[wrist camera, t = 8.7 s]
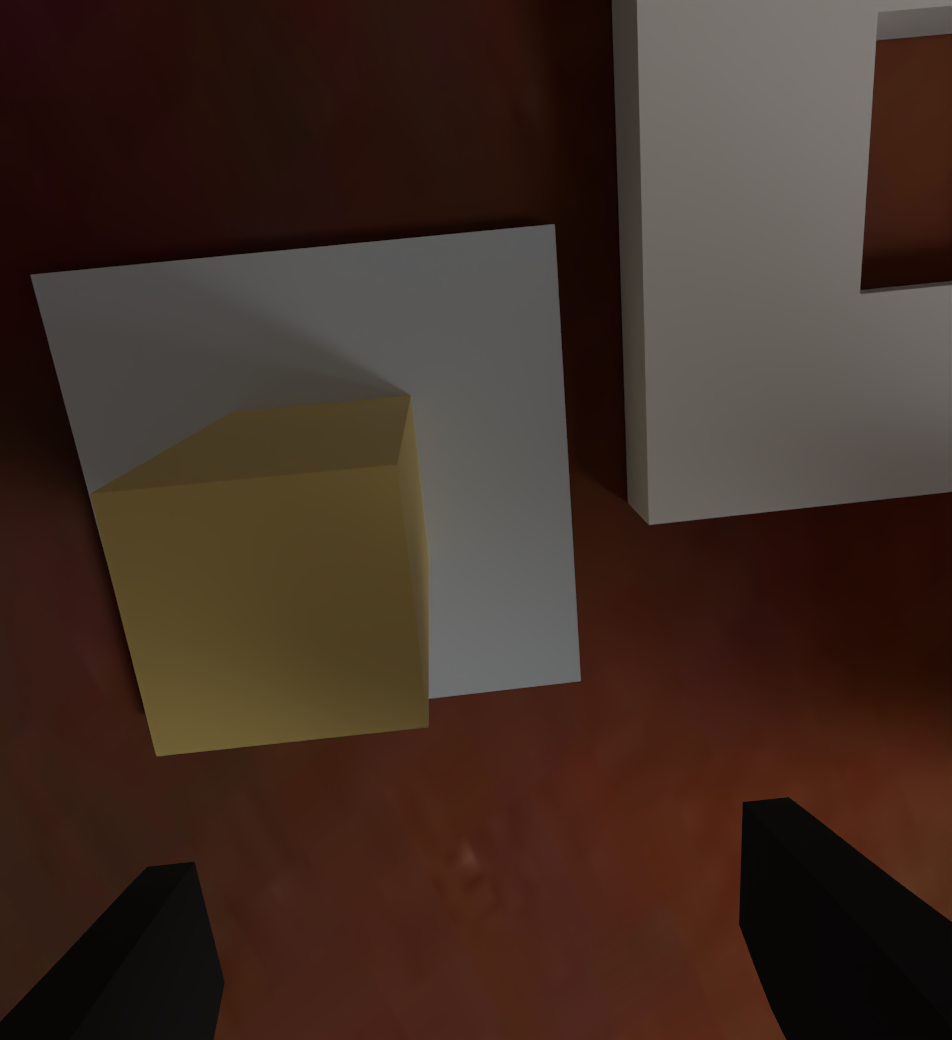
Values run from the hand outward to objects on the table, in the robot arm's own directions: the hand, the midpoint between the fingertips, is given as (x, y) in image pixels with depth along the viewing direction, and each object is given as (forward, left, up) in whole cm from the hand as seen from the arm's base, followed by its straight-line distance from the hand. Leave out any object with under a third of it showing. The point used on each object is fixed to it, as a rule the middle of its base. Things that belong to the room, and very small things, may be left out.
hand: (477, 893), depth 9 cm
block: (+3, -4, -9) cm, 10 cm away
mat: (+3, -3, -9) cm, 10 cm away
